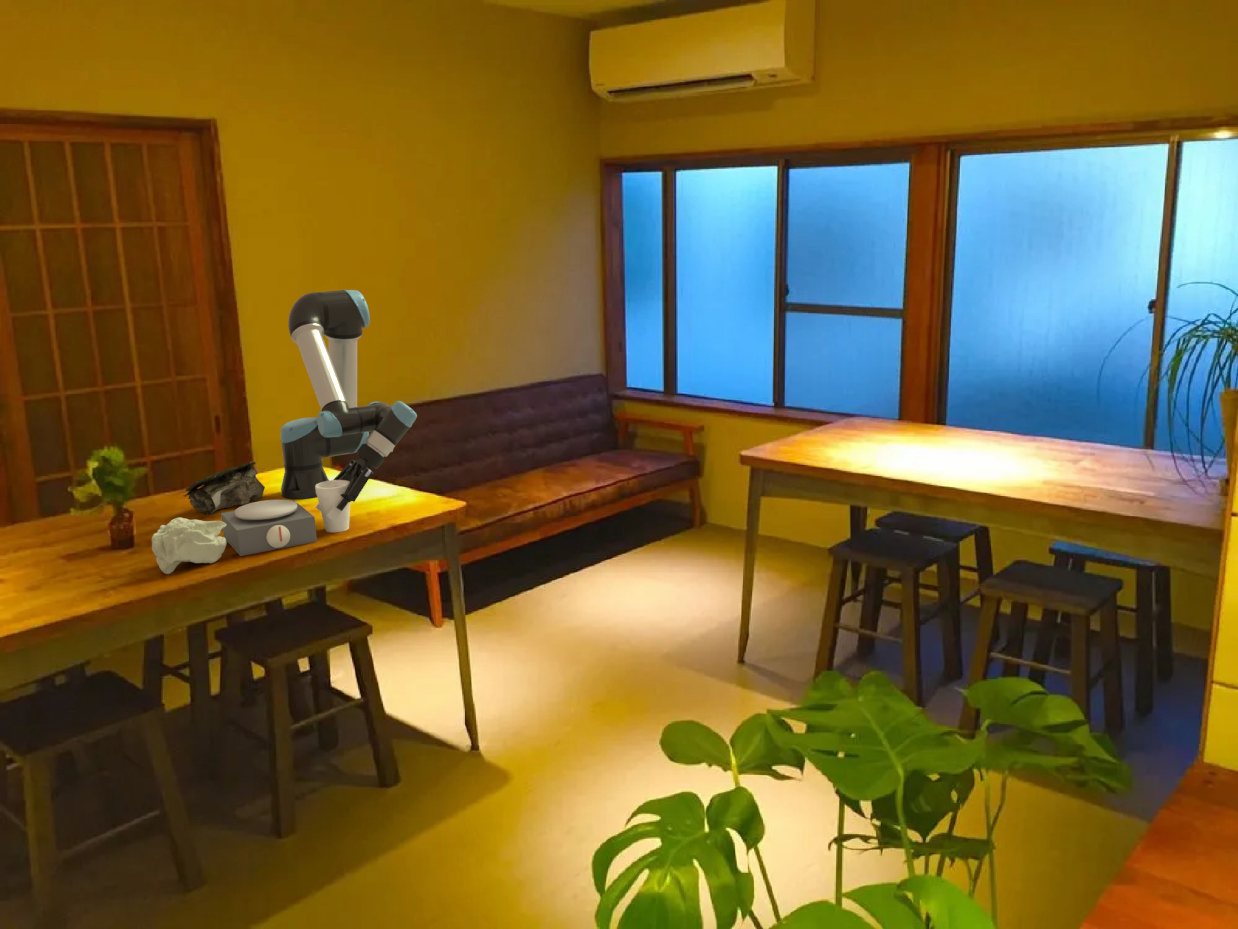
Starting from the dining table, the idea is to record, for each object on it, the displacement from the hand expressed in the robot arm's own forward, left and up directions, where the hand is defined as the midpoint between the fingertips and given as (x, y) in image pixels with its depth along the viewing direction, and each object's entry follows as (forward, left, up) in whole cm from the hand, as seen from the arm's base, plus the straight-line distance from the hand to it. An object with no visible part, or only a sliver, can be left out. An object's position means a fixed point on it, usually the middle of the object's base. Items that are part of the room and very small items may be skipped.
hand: (324, 514), depth 285 cm
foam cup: (0, +3, -5) cm, 6 cm away
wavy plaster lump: (+7, -37, -5) cm, 38 cm away
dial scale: (-2, -15, -5) cm, 16 cm away
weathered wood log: (-46, -18, -5) cm, 49 cm away
